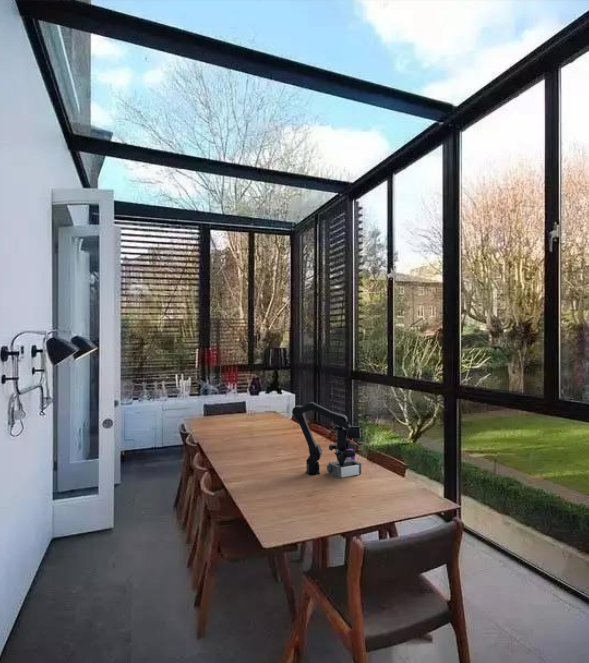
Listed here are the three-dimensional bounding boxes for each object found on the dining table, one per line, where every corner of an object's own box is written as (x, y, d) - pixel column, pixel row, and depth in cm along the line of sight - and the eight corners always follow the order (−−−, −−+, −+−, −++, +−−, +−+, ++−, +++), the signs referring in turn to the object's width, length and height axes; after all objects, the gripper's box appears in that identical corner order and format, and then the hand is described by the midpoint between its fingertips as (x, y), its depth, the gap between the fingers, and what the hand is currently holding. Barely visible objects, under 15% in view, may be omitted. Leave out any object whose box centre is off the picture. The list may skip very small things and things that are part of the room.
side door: (341, 477, 232) (341, 468, 232) (340, 476, 233) (340, 467, 233) (358, 474, 237) (358, 465, 237) (357, 473, 238) (357, 464, 238)
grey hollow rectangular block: (335, 478, 231) (335, 467, 231) (326, 473, 239) (326, 462, 239) (361, 473, 239) (361, 463, 239) (352, 469, 247) (352, 459, 247)
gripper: (363, 440, 232) (363, 468, 232) (344, 433, 248) (344, 459, 248) (346, 442, 227) (346, 471, 227) (328, 434, 243) (328, 462, 243)
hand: (341, 466), depth 236 cm, fingers closed
